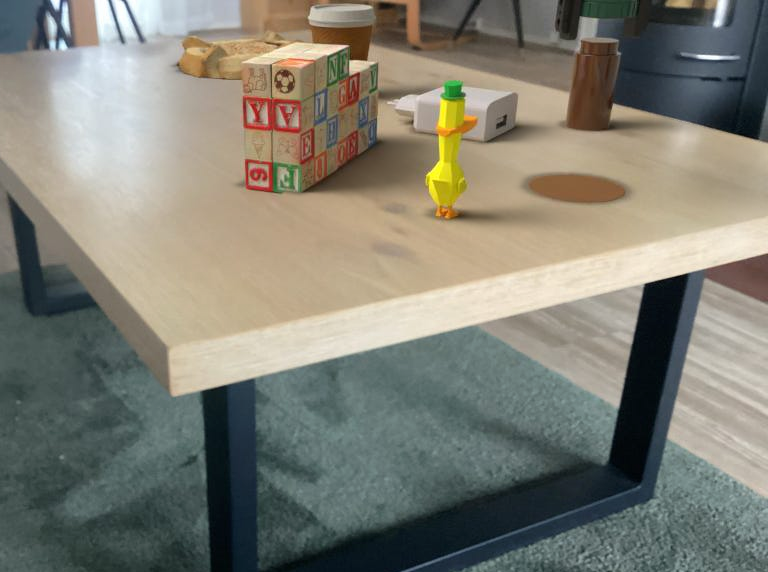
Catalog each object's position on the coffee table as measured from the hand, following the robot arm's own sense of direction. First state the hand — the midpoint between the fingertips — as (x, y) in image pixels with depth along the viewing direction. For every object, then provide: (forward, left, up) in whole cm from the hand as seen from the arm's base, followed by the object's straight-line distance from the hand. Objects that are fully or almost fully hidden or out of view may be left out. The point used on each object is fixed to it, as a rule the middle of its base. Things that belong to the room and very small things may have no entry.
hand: (599, 37), depth 78 cm
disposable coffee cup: (+36, -35, -14) cm, 52 cm away
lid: (0, 0, +3) cm, 3 cm away
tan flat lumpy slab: (+59, -53, -14) cm, 81 cm away
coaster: (0, 0, -14) cm, 14 cm away
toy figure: (+10, +12, -14) cm, 21 cm away
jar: (+1, -27, -14) cm, 30 cm away
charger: (+18, -20, -14) cm, 31 cm away
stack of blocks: (+27, 0, -14) cm, 31 cm away
